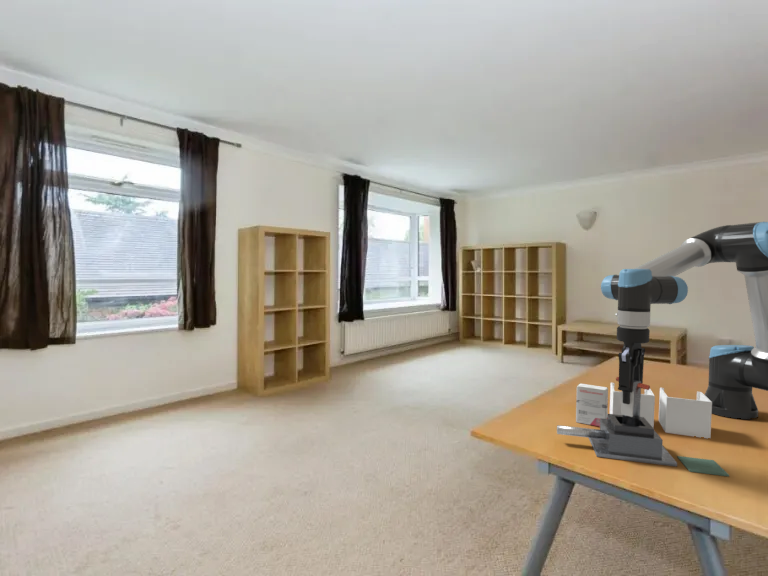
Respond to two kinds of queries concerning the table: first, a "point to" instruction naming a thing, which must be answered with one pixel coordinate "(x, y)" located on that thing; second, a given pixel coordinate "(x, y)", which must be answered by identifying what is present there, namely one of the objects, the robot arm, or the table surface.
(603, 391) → the ink box
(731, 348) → the robot arm
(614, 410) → the brackets
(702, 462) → the rubber mat
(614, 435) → the block
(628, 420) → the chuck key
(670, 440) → the table surface
